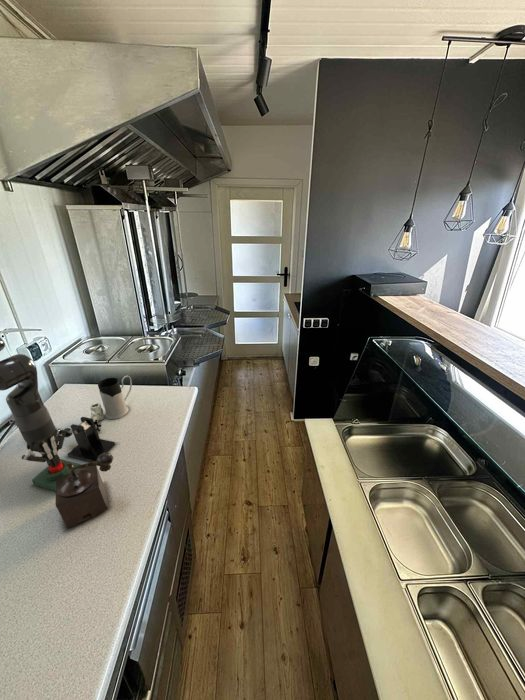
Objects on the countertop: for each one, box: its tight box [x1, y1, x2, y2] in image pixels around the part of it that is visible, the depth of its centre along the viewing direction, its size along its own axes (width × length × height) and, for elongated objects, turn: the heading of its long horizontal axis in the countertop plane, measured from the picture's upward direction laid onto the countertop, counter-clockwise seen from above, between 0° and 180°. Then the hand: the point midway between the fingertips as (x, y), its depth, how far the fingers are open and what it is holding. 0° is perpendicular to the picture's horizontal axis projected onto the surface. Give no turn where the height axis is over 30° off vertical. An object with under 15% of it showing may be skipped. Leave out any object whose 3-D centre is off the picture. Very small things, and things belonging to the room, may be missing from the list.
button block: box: [31, 458, 82, 492], centre depth 91 cm, size 11×9×4 cm
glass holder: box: [97, 375, 133, 420], centre depth 120 cm, size 9×14×15 cm, turn 151°
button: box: [47, 461, 63, 474], centre depth 90 cm, size 4×4×2 cm
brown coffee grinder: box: [55, 452, 114, 529], centre depth 80 cm, size 16×11×18 cm
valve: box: [89, 402, 105, 432], centre depth 113 cm, size 7×7×12 cm
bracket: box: [67, 416, 116, 463], centre depth 99 cm, size 12×9×13 cm
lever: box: [63, 421, 90, 438], centre depth 99 cm, size 13×3×3 cm, turn 72°
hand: (55, 464), depth 89 cm, fingers closed
